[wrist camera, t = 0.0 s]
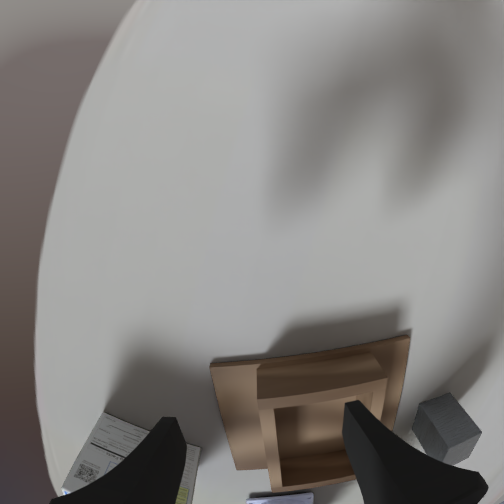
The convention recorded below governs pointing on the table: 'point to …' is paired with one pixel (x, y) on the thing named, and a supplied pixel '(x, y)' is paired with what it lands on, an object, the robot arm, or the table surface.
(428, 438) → the steel block
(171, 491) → the robot arm
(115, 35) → the table surface
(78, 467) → the light bulb box
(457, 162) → the table surface
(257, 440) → the walnut well
